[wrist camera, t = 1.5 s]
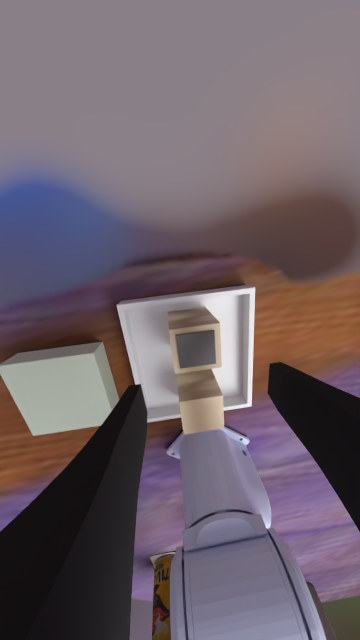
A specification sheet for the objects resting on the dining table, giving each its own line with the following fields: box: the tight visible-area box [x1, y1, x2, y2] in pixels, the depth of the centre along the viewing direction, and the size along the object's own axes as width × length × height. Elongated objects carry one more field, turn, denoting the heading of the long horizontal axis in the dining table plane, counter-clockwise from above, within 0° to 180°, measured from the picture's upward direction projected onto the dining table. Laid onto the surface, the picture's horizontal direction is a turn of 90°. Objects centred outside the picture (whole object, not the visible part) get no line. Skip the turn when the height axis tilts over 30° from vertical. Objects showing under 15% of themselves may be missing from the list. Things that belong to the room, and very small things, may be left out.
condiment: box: [150, 552, 175, 640], centre depth 29 cm, size 7×8×12 cm
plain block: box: [176, 369, 224, 434], centre depth 18 cm, size 4×4×5 cm
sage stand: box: [0, 342, 119, 436], centre depth 19 cm, size 9×9×2 cm
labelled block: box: [168, 307, 222, 374], centre depth 16 cm, size 4×4×5 cm
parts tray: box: [116, 285, 255, 423], centre depth 19 cm, size 14×13×2 cm
